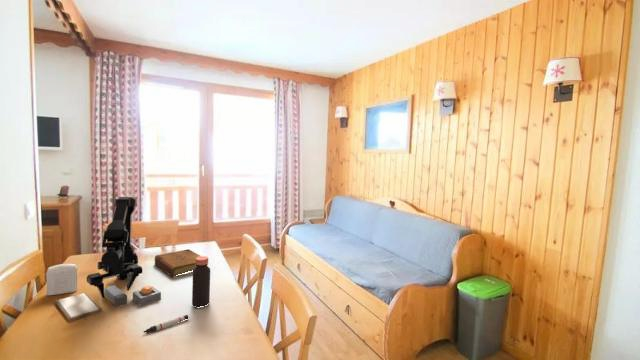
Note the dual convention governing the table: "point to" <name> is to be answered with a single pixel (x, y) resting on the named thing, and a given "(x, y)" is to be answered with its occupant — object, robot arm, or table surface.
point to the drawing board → (77, 306)
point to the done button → (146, 290)
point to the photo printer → (62, 279)
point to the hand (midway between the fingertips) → (115, 293)
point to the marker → (166, 324)
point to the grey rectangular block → (116, 296)
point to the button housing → (146, 296)
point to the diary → (177, 262)
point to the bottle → (201, 282)
